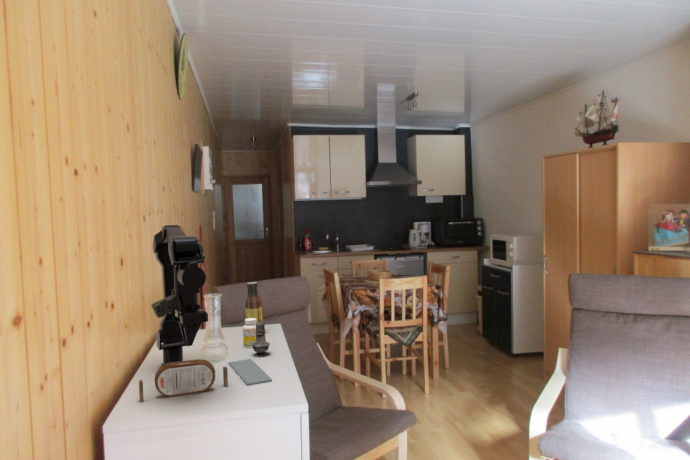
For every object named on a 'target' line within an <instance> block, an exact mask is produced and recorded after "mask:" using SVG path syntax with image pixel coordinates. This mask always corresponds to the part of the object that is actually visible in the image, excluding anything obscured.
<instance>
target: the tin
mask: <svg viewBox="0 0 690 460" xmlns="http://www.w3.org/2000/svg"><path fill="white" fill-rule="evenodd" d="M215 381H216V370H215V367H214V365H213V364H212V363H211V361H208V360H207V359H203V358H201V359H200V358H199V359H193V360H191V359H190V360H183V361H179V362H170V363H167V364H164V365H163V366H160V367H159V368H158V369H157V371H156V372H155V376H154V385H155V389H156V390H157V392H159V394H161V395H162V396H164V397H177V396H185V395H192V394H200V393H205V392H206V391H208V390H210V388H212V386H213V385H214V382H215Z"/></svg>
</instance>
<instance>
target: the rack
mask: <svg viewBox="0 0 690 460" xmlns="http://www.w3.org/2000/svg"><path fill="white" fill-rule="evenodd" d="M222 373H223V374H222V377H223V386H224V387H225V388H226V387H229V383H228V382H229V379H228V367H227V366H223V367H222ZM138 389H139V391H138V392H139V402H140V403H144V400H145V399H144V382H143V379H141V380H140V379H139V380H138Z"/></svg>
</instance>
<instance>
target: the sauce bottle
mask: <svg viewBox="0 0 690 460" xmlns="http://www.w3.org/2000/svg"><path fill="white" fill-rule="evenodd" d="M258 285H259V284H258V282H257V281H251V282H247V283H246V288H247V297H246V299H245V319H247V318H256V321H257V322H259V319H261V321H262V322H264V317H263V307H262V300H261V296H260V295H259V291H258ZM257 322H256V323H257Z"/></svg>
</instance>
